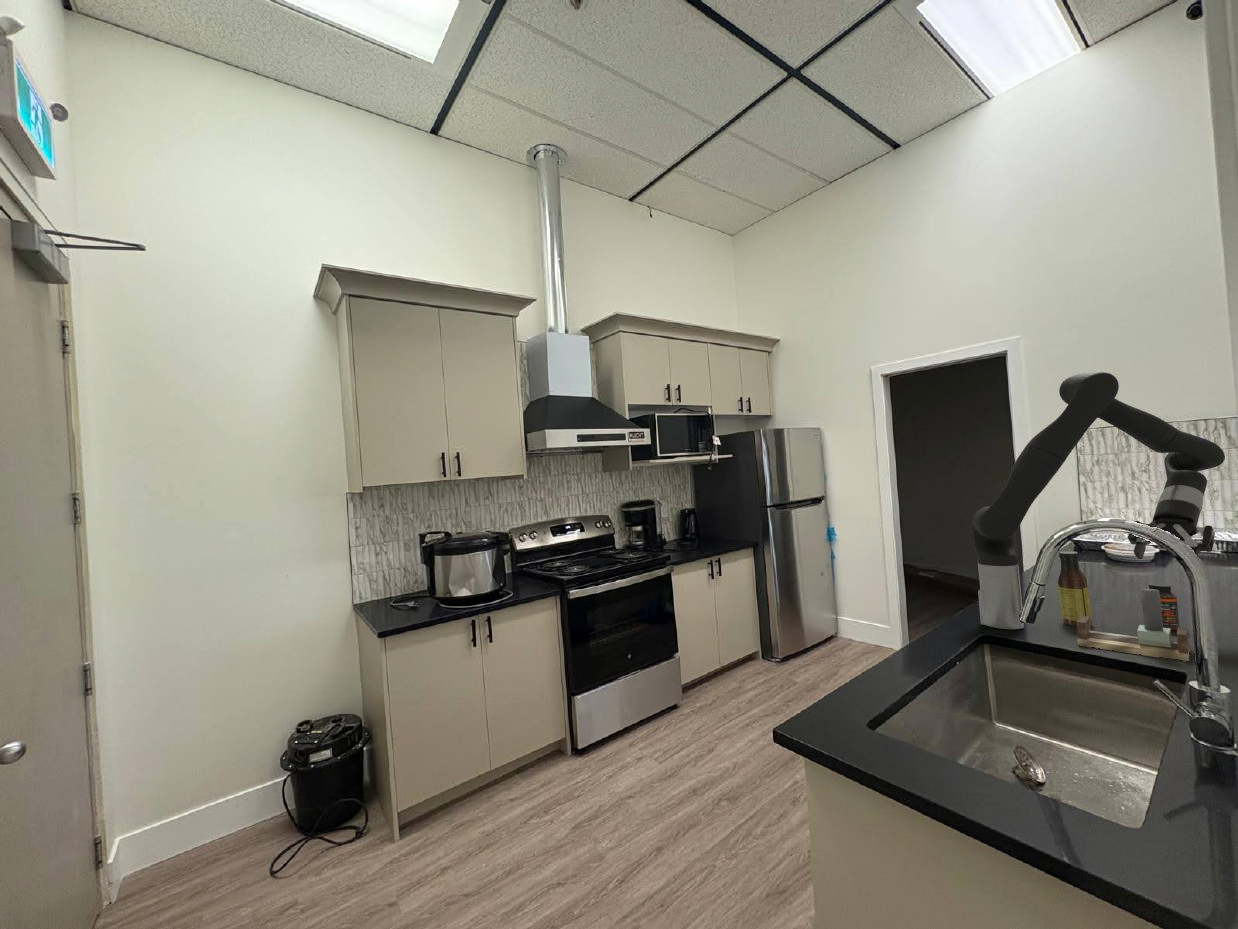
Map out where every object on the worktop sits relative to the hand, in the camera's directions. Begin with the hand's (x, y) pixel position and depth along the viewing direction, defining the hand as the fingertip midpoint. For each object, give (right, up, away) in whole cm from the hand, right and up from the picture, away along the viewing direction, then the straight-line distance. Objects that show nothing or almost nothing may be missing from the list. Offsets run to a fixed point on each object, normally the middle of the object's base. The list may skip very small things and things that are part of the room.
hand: (1162, 560), depth 124 cm
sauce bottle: (-6, -21, +16) cm, 27 cm away
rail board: (-11, -20, -4) cm, 24 cm away
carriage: (-9, -18, -7) cm, 21 cm away
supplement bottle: (+10, -20, +9) cm, 24 cm away
